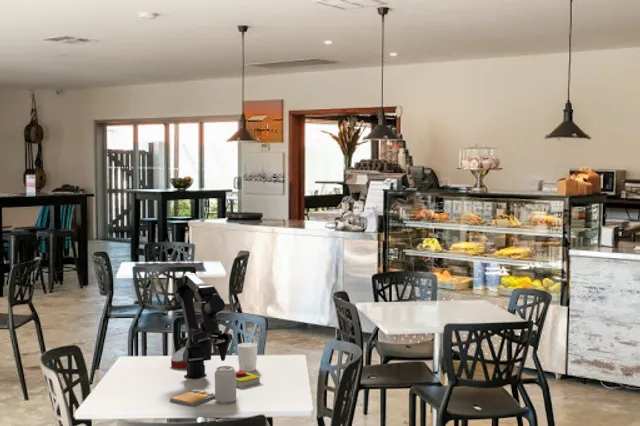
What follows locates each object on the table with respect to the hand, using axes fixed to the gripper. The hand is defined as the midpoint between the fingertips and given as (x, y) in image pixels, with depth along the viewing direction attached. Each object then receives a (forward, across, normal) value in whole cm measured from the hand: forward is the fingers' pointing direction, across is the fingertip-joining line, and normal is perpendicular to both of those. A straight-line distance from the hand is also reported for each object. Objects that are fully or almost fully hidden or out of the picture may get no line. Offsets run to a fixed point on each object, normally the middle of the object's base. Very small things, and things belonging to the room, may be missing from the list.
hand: (216, 360), depth 299 cm
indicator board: (+12, +8, -7) cm, 16 cm away
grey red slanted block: (-6, -27, -33) cm, 43 cm away
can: (+16, +5, +4) cm, 17 cm away
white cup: (+1, -33, -7) cm, 34 cm away
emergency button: (+9, -17, -1) cm, 19 cm away
